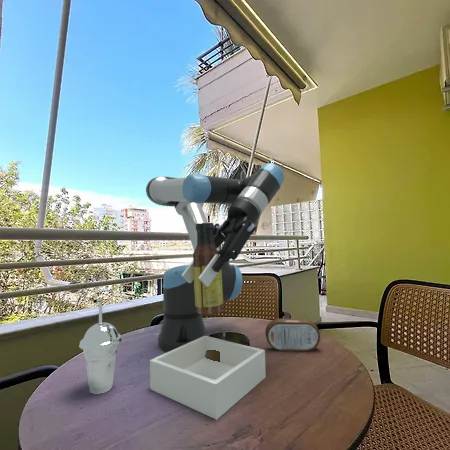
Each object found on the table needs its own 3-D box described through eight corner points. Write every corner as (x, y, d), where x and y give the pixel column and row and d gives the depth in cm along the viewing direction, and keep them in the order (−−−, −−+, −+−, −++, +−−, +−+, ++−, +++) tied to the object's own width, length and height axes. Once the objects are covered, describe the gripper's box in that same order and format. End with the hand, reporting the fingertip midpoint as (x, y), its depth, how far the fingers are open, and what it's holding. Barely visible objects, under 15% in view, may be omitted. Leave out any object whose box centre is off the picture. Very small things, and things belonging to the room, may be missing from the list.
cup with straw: (130, 380, 63) (129, 291, 64) (103, 403, 54) (103, 300, 55) (97, 377, 65) (97, 290, 66) (67, 398, 56) (67, 298, 57)
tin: (319, 348, 79) (318, 318, 79) (322, 352, 76) (320, 321, 76) (265, 347, 80) (264, 317, 81) (266, 351, 77) (265, 321, 78)
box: (150, 389, 59) (149, 360, 60) (205, 358, 74) (204, 335, 74) (216, 419, 49) (215, 384, 49) (265, 377, 63) (264, 350, 63)
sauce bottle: (227, 310, 63) (225, 222, 64) (215, 317, 58) (213, 221, 58) (202, 307, 66) (201, 223, 67) (188, 314, 60) (186, 223, 61)
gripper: (284, 216, 65) (232, 297, 54) (231, 221, 80) (182, 286, 69) (267, 191, 62) (209, 272, 51) (216, 202, 77) (162, 266, 66)
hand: (194, 280), depth 60 cm, fingers closed on sauce bottle, 6 cm apart
